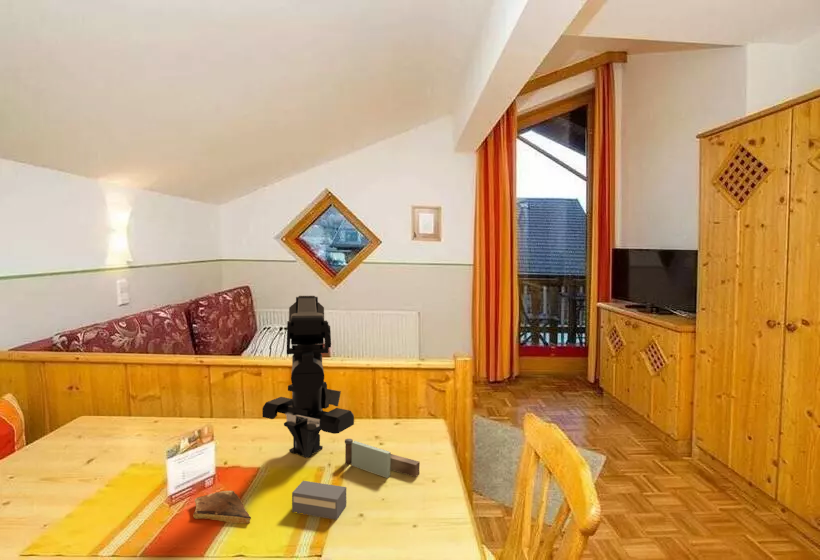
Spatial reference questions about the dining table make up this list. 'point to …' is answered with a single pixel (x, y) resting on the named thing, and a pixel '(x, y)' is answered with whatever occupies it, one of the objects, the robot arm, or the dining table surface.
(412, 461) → the bar
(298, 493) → the grey block
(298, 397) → the robot arm
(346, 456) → the hinge post
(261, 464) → the dining table surface
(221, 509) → the shard
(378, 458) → the door
